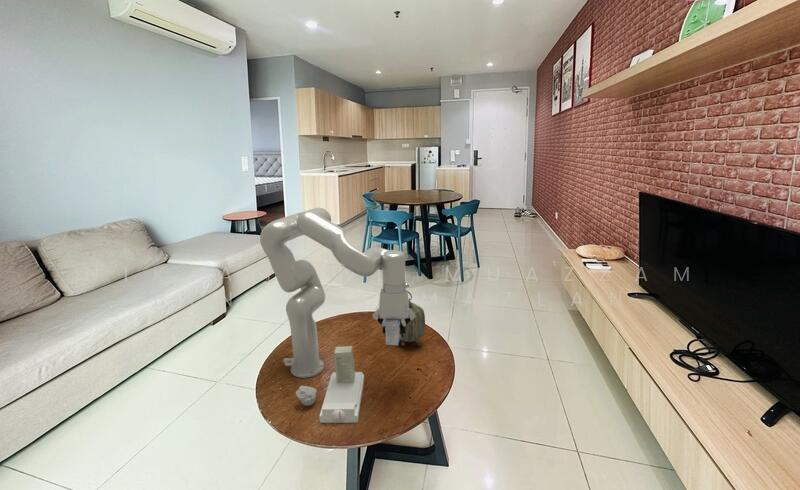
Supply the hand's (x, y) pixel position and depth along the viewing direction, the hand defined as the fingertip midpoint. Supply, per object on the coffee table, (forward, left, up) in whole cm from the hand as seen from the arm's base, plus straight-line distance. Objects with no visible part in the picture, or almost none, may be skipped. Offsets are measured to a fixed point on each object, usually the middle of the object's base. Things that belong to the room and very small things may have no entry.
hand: (394, 334), depth 134 cm
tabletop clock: (+4, +29, -20) cm, 36 cm away
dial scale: (-18, -8, -20) cm, 28 cm away
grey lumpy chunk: (-30, -10, -20) cm, 37 cm away
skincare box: (-18, -2, -17) cm, 25 cm away
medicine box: (0, 0, -2) cm, 2 cm away
